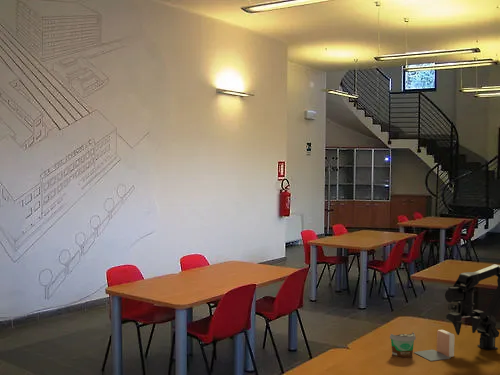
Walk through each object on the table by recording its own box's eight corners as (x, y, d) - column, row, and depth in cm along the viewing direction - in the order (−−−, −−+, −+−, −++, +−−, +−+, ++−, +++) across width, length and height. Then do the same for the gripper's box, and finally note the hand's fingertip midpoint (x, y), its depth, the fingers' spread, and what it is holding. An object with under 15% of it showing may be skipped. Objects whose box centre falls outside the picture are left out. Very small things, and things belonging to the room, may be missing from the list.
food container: (396, 360, 241) (396, 337, 241) (389, 355, 247) (389, 333, 247) (420, 357, 245) (421, 335, 244) (413, 353, 250) (413, 331, 250)
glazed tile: (441, 350, 254) (442, 329, 254) (453, 356, 247) (454, 334, 247) (436, 351, 253) (437, 330, 253) (448, 357, 246) (449, 335, 246)
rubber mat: (432, 350, 255) (432, 349, 255) (450, 358, 244) (450, 357, 244) (413, 352, 251) (413, 352, 251) (430, 361, 240) (430, 360, 240)
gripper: (469, 295, 264) (468, 327, 265) (438, 298, 258) (437, 330, 258) (487, 300, 254) (486, 333, 255) (455, 303, 247) (454, 337, 248)
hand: (465, 333), depth 254 cm, fingers open, 9 cm apart
